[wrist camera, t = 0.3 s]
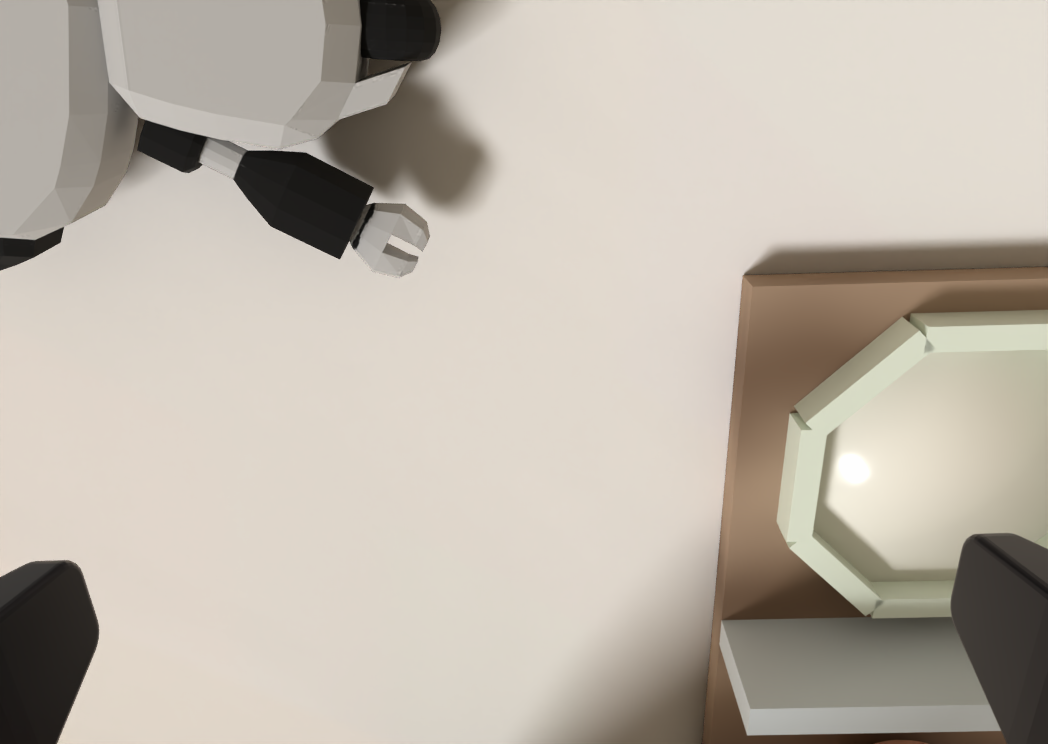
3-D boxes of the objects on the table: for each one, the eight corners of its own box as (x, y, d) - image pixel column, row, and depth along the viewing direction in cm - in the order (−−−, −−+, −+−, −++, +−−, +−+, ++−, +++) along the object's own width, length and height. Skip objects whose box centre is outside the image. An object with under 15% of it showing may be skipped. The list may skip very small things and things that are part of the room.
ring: (1069, 591, 24) (1090, 614, 23) (767, 597, 24) (776, 620, 23) (1160, 306, 20) (1189, 320, 19) (801, 316, 21) (814, 330, 20)
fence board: (1009, 820, 30) (1086, 948, 26) (695, 825, 30) (721, 952, 26) (1193, 263, 21) (1356, 321, 17) (742, 275, 21) (794, 336, 17)
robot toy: (450, -278, 17) (-297, -356, 16) (446, -371, 13) (-566, -487, 12) (439, 265, 22) (-130, 240, 21) (432, 322, 18) (-276, 295, 17)
